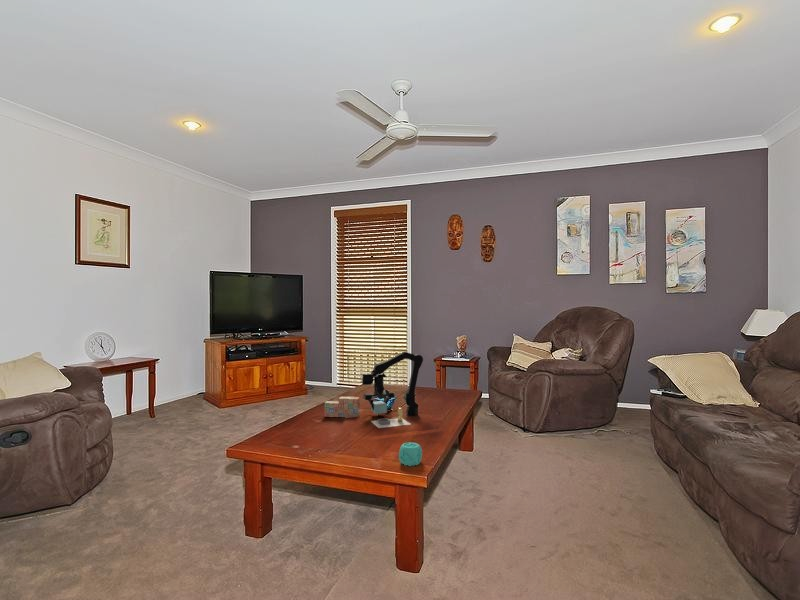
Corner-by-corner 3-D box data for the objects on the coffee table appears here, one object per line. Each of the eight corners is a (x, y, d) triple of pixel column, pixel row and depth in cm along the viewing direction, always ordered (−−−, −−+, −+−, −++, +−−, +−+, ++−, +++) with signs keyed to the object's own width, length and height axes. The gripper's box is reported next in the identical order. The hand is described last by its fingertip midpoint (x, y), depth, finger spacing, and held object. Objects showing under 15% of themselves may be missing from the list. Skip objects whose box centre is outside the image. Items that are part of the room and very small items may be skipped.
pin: (401, 420, 259) (401, 407, 260) (403, 422, 257) (403, 408, 257) (396, 421, 258) (396, 407, 258) (398, 422, 256) (398, 408, 256)
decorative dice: (415, 467, 191) (415, 449, 191) (398, 464, 194) (398, 446, 194) (422, 461, 198) (422, 443, 198) (406, 458, 201) (406, 441, 201)
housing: (382, 409, 275) (381, 400, 275) (386, 412, 267) (386, 404, 267) (371, 410, 272) (371, 401, 272) (375, 414, 264) (375, 405, 264)
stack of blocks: (324, 417, 272) (324, 398, 272) (326, 415, 278) (326, 396, 278) (357, 418, 270) (357, 398, 270) (359, 416, 277) (359, 396, 277)
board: (401, 420, 266) (401, 414, 266) (411, 426, 252) (411, 420, 252) (370, 423, 259) (370, 417, 259) (378, 430, 245) (378, 424, 245)
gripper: (368, 388, 259) (368, 414, 259) (397, 385, 265) (397, 411, 265) (362, 384, 269) (362, 409, 269) (391, 382, 276) (391, 407, 276)
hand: (378, 409), depth 270 cm, fingers closed on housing, 7 cm apart
